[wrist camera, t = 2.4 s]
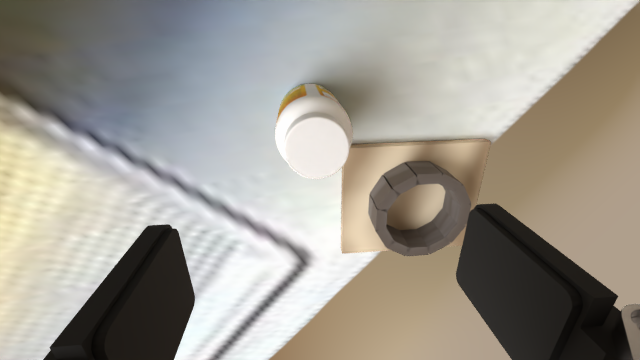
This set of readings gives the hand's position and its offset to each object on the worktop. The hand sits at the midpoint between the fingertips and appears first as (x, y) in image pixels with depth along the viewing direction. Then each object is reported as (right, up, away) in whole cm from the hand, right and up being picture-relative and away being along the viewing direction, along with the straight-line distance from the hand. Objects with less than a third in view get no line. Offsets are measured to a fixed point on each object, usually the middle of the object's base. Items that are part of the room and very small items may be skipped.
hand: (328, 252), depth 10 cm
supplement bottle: (-1, +8, +17) cm, 19 cm away
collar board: (+9, +1, +21) cm, 23 cm away
